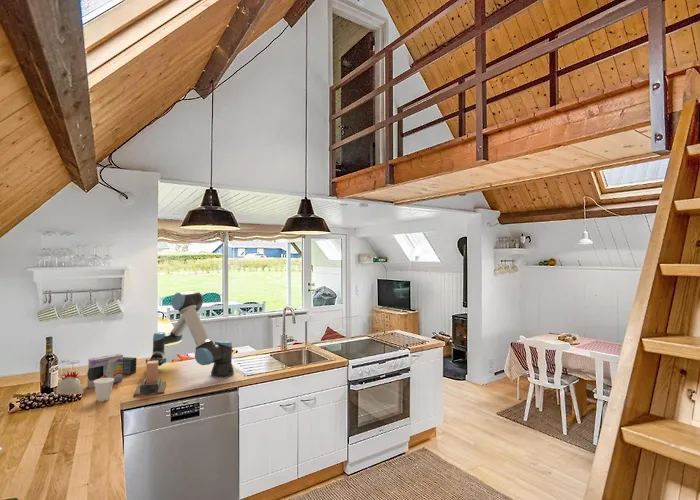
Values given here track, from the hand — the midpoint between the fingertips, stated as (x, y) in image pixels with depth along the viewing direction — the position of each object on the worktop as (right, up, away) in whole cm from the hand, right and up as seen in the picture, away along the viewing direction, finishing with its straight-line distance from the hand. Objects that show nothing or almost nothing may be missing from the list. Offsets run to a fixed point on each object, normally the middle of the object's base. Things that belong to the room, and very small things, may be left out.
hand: (153, 367), depth 250 cm
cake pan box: (-29, -10, -4) cm, 31 cm away
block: (+2, -9, -6) cm, 11 cm away
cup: (-14, -10, -29) cm, 34 cm away
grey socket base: (+4, -10, -11) cm, 16 cm away
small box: (-28, -10, +19) cm, 35 cm away
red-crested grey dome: (-35, -9, -27) cm, 45 cm away
